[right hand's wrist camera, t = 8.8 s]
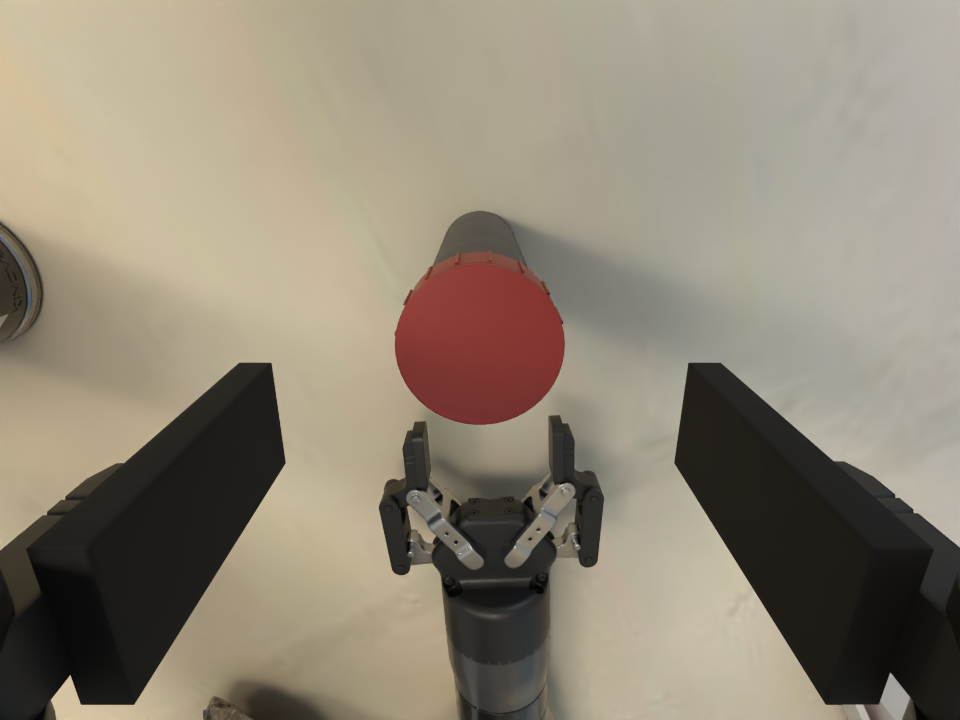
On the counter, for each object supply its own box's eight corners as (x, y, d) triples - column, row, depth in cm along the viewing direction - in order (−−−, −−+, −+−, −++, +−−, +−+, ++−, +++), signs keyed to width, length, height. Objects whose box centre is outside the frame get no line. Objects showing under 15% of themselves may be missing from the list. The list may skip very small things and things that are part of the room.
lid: (579, 359, 21) (592, 384, 18) (447, 419, 21) (443, 450, 19) (516, 222, 19) (521, 231, 17) (375, 293, 20) (361, 311, 17)
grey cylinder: (528, 265, 37) (575, 375, 19) (464, 296, 38) (448, 432, 19) (496, 197, 35) (514, 245, 17) (430, 232, 36) (379, 312, 18)
